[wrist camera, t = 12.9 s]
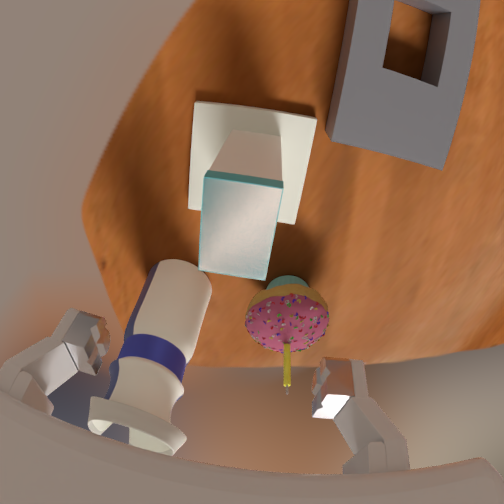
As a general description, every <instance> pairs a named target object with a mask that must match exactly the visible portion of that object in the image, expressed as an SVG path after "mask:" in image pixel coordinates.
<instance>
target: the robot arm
mask: <svg viewBox="0 0 504 504" xmlns="http://www.w3.org/2000/svg"><path fill="white" fill-rule="evenodd" d="M106 324H107V323H106V320H105V318H104V317H100V316H97V315H93V314H90V313H87V312H83V311H80V310H77V309H73V308H70V309H69V310H67V312H66V313H65V315H64V317H63V318H62V320H61V321H60V323H59V325H58V326H57V328H56V329H55V331H54V333H53V334H52V336H51V338H50V337H46V338H45V339H43V340H41V341H39V342H38V343H36V344H34V345H33V346H31V347H29V348H27V349H26V350H24V351H22V352H20V353H19V354H17V355H15V356H14V357H12V358H10V359H8V360H7V361H5V363H4V364H3V366H2V368H1V370H0V504H504V480H503V478H502V476H501V475H500V474H499V472H498V471H497V470H496V469H495V468H494V467H493V466H492V465H491V464H490V463H489V462H488V461H487V460H486V459H484V458H482V457H478V458H473V459H468V460H464V461H460V462H454V463H449V464H444V465H438V466H432V467H426V468H419V469H411V470H410V464H409V456H408V448H407V441H406V439H405V437H404V436H403V435H402V434H401V433H400V431H399V430H398V429H397V428H396V426H395V425H394V424H393V423H392V421H391V420H390V419H389V418H388V416H387V415H386V414H385V413H384V411H383V410H382V409H381V408H380V407H379V405H378V404H377V403H376V402H375V400H374V399H373V398H371V397H369V396H368V389H367V381H366V375H365V368H364V362H363V361H362V360H354V359H346V358H333V357H323V358H322V359H321V361H320V367H319V368H317V369H316V371H315V374H314V376H313V380H312V393H313V394H314V395H315V398H314V400H313V401H312V417H316V418H328V419H334V422H335V423H336V425H337V427H338V429H339V430H340V432H341V434H342V435H343V437H344V439H345V440H346V442H347V444H348V445H349V447H350V449H351V450H352V452H353V454H354V455H355V456H353V457H352V458H351V459H350V460H348V461H347V462H346V463H345V464H344V465H343V474H295V473H279V472H267V471H257V470H248V469H240V468H233V467H226V466H220V465H214V464H208V463H202V462H197V461H192V460H187V459H183V458H178V457H174V456H170V455H165V454H161V453H157V452H153V451H150V450H146V449H142V448H139V447H135V446H132V445H129V444H125V443H122V442H119V441H116V440H112V439H110V438H106V437H104V436H101V435H98V434H95V433H93V432H90V431H87V430H85V429H82V428H79V427H77V426H74V425H72V424H69V423H67V422H64V421H61V420H60V419H57V418H55V417H53V416H51V413H52V411H53V409H54V407H53V404H52V403H51V402H50V400H49V399H48V398H47V395H49V394H50V393H51V392H52V391H54V390H55V389H56V388H58V387H59V386H60V385H61V384H63V383H64V382H65V381H66V380H68V379H69V378H70V377H72V376H73V375H74V374H75V373H77V372H78V370H79V371H82V372H85V373H88V374H92V375H95V376H96V375H97V373H98V370H99V368H100V366H101V364H102V360H101V357H102V356H103V355H105V354H106V353H107V351H108V349H109V345H110V333H109V331H108V330H107V329H106V328H105V326H106Z"/></svg>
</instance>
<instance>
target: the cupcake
mask: <svg viewBox="0 0 504 504" xmlns="http://www.w3.org/2000/svg"><path fill="white" fill-rule="evenodd" d="M328 322H329V314H328V306H327V303H326V302H325V301H324V299H323V298H322V297H321V295H320V294H319V293H318V292H317V291H316V290H315V289H313V288H309V287H308V285H307V283H306V282H305V281H304V280H302V279H301V278H299V277H296V276H291V275H285V276H280V277H277V278H275V279H274V280H272V281H271V282H270V283H269V285H268V286H267V288H266V290H262V291H260V292H259V293H257V294H256V295H255V296H254V297H253V299H252V300H251V302H250V304H249V306H248V309H247V313H246V321H245V327H247V329H248V332H249V333H250V335H251V336H252V338H253V339H255V340H254V341H256V342H258V344H261V346H263V347H264V348H268V349H270V350H271V351H277V352H281V353H282V352H283V353H284V386H286V394H288V386H290V385H291V359H290V352H296V351H301V350H303V349H305V348H306V349H307V348H309V347H310V346H311V345H312V344H314V343H315V342H316V341H317V340H318V341H319V338H321V336H324V334H325V331H326V328H327V327H328Z"/></svg>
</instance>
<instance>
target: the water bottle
mask: <svg viewBox="0 0 504 504" xmlns="http://www.w3.org/2000/svg"><path fill="white" fill-rule="evenodd" d="M211 294H212V287H211V283H210V281H209V279H208V277H207V276H206V274H205V273H204V272H203V271H200V270H198V267H197V266H195V265H193V264H191V263H189V262H186V261H183V260H178V259H167V260H163V261H160V262H158V263H156V264H155V265H154V266H153V267H152V268H151V270H150V272H149V274H148V277H147V279H146V282H145V284H144V287H143V289H142V292H141V294H140V296H139V299H138V301H137V303H136V306H135V308H134V310H133V312H132V314H131V317H130V319H129V321H128V324H127V327H126V330H125V334H124V344H123V346H122V349H121V351H120V354H119V356H118V358H117V360H115V361H113V362H112V363H111V364H110V367H109V372H110V376H111V381H110V386H109V389H108V392H107V394H106V396H105V398H104V399H103V398H99V397H91V402H90V412H89V419H88V427H89V429H90V430H91V431H92V432H93V433H95V434H98V435H100V434H102V433H103V432H104V431H105V430H106V429H107V428H108V427H109V426H110V425H111V424H112V423H117V424H120V425H123V426H127V427H129V428H130V435H129V445H132V446H135V447H139V448H142V449H146V450H150V451H153V452H157V453H161V454H165V455H170V456H172V455H173V454H174V453H175V452H176V450H177V449H178V448H180V447H181V446H182V445H183V444H184V443H185V441H186V440H187V437H186V436H185V435H184V433H183V432H182V431H181V430H179V429H178V428H177V427H175V426H174V425H172V424H171V421H170V418H171V411H172V408H173V406H174V404H175V402H176V401H178V400H179V399H180V398H181V397H182V396H183V393H184V388H183V385H182V384H181V383H182V378H183V375H184V371H185V367H186V365H187V364H188V363H189V361H190V360H191V358H192V356H193V353H194V350H195V347H196V343H197V339H198V336H199V332H200V328H201V325H202V321H203V318H204V315H205V312H206V309H207V306H208V303H209V300H210V297H211Z"/></svg>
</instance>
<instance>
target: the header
mask: <svg viewBox="0 0 504 504" xmlns="http://www.w3.org/2000/svg"><path fill="white" fill-rule="evenodd" d="M397 1H399V2H402V3H405V4H407V5H410V6H413V7H415V8H418V9H420V10H422V11H425V12H427V13H430V14H432V15H433V16H432V23H431V29H430V35H429V41H428V46H427V51H426V57H425V62H424V67H423V71H422V76H421V81H420V80H418V79H415V78H412V77H409V76H406V75H404V74H401V73H398V72H395V71H392V70H388V69H385V68H382V67H383V62H384V57H385V52H386V46H387V41H388V35H389V30H390V24H391V18H392V11H393V5H394V0H349V6H348V12H347V18H346V24H345V30H344V36H343V42H342V47H341V53H340V58H339V64H338V69H337V74H336V79H335V85H334V90H333V95H332V100H331V105H330V110H329V114H328V119H327V124H326V129H325V131H326V133H327V135H328V136H329V138H330V140H331V141H333V142H337V143H342V144H346V145H351V146H355V147H359V148H364V149H368V150H372V151H376V152H380V153H384V154H387V155H391V156H395V157H398V158H402V159H406V160H409V161H413V162H416V163H419V164H423V165H426V166H429V167H432V168H436V169H439V170H443V167H444V164H445V161H446V158H447V155H448V151H449V148H450V145H451V142H452V138H453V135H454V132H455V128H456V125H457V121H458V117H459V114H460V110H461V106H462V102H463V98H464V94H465V90H466V85H467V81H468V76H469V71H470V66H471V61H472V56H473V50H474V44H475V38H476V32H477V25H478V17H479V8H480V0H397Z"/></svg>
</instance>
